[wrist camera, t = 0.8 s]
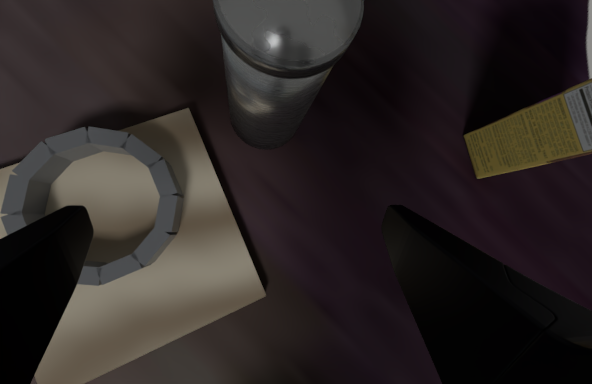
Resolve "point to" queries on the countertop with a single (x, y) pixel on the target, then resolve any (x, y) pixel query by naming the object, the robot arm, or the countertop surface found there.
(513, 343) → the robot arm
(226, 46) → the metal canister
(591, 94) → the candy box
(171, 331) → the duct board
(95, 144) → the collar
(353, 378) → the countertop surface
